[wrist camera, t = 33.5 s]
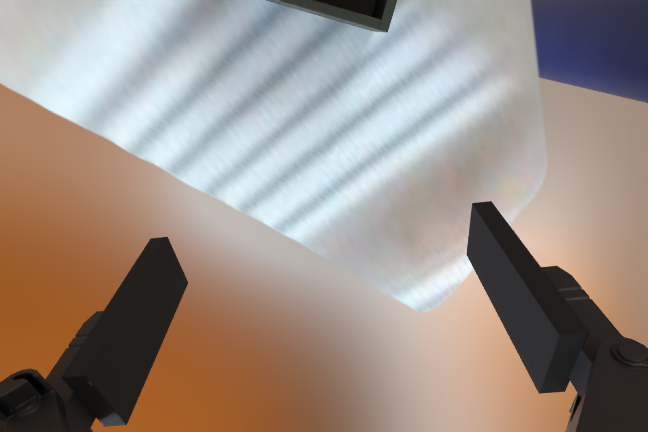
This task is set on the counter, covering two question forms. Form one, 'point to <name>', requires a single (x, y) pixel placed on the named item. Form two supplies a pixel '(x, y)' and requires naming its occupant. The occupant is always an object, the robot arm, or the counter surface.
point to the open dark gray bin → (349, 11)
